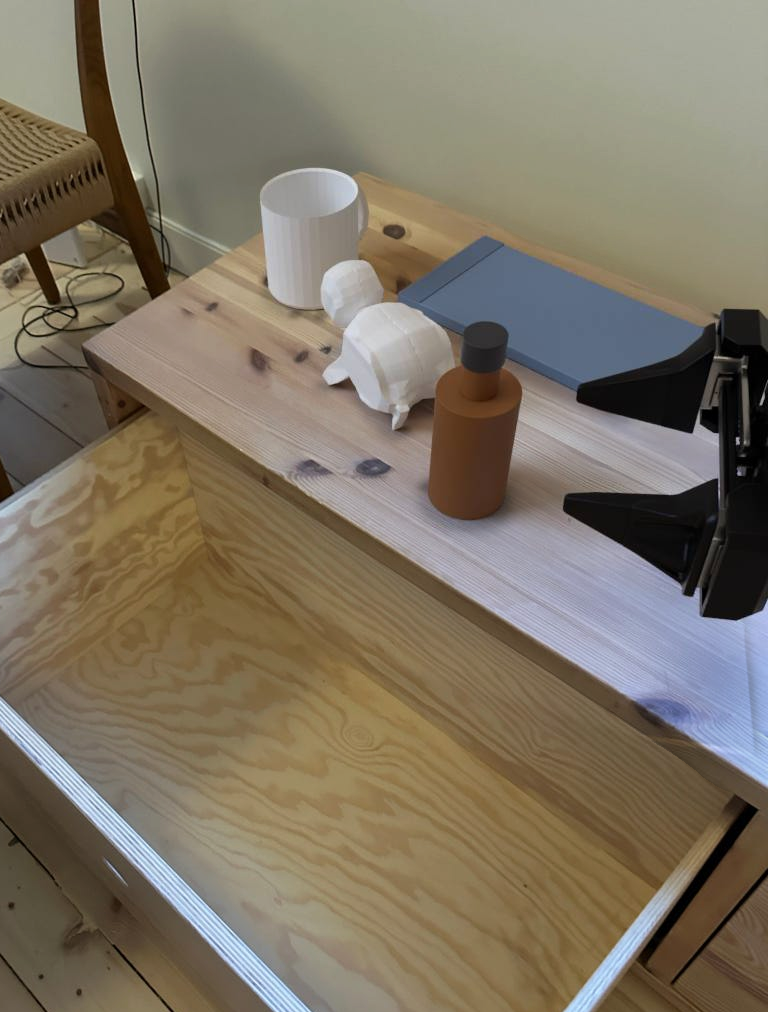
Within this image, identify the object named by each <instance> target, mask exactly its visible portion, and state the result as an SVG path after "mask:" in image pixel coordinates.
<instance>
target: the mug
mask: <svg viewBox="0 0 768 1012" xmlns="http://www.w3.org/2000/svg"><path fill="white" fill-rule="evenodd" d="M259 203H260V213H261V224H262V233H263V234H262V235H263V245H264V254H265V255H264V256H265V265H266V276H267V287H268V290H269V292H270V294H271V295H272V297H274V299H275V300H276V301H277V302H279V303H281V304H282V305H284V306H286V307H289V308H293V309H296V310H304V311H315V310H324V308H323V305H322V302H321V285H322V281H323V277H324V274H325V273H326V272H327V271H328V270H329V269H330V268H332V267H333V266H335V265H336V264H338V263H340V262H344V261H348V260H360V259H359V258H360V257H359V253H360V251H359V248H360V247H359V244H360V242H361V241H362V240H363V237H364V236H365V233H366V232H367V230H368V227H369V218H370V209H369V203H368V199H367V196H366V194H365V192H364V189H362V187H361V185H360V184H359V183H358V182H357V181H356V180H355V179H353V178H352V177H351V176H350V175H348V174H346V173H344V172H341V171H339V170H336V169H331V168H323V167H306V168H297V169H293V170H289V171H286V172H282V173H280V174H278V175H276V176H274V177H273V178H271V179H270V180H268V181H267V182H266V183H265V184H264V185H263V186H262V188H261V189H260V192H259Z"/></svg>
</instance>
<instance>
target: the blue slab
mask: <svg viewBox="0 0 768 1012" xmlns="http://www.w3.org/2000/svg"><path fill="white" fill-rule="evenodd" d="M397 303H403V304H405V305H407V306H409V307H411V308H414V309H417V310H419V311H421V312H423V314H424V315H425V316H426V317H428V318H429V319H431V320H432V321H434V322H435V323H437V324H438V325H439V326H441V327H445V328H447V329H448V330H451V331H452V332H455V333H457V334H458V335H461V336H463V331H464V330H465V328H466V327H467V326H469V325H470V324H473V323H476V322H481V321H489V322H495V323H498V324H500V325H502V326H503V327H505V328H506V330H507V331H508V334H509V337H508V344H507V351H506V358H508V359H510V360H512V361H514V362H516V363H518V364H520V365H522V366H524V367H526V368H528V369H530V370H532V371H534V372H537V373H538V374H540V375H543V376H545V377H547V378H549V379H551V380H553V381H555V382H557V383H558V384H561V385H563V386H565V387H567V388H569V389H571V390H573V391H576V392H577V388H578V386H579V385H580V384H581V383H585V382H588V381H592V380H596V379H600V378H603V377H607V376H611V375H615V374H618V373H622V372H626V371H630V370H633V369H637V368H641V367H644V366H648V365H651V364H654V363H658V362H661V361H663V360H666V359H669V358H672V357H675V356H677V355H679V354H680V353H682V352H683V351H684V350H685V349H687V348H688V347H689V346H690V345H691V344H693V343H694V342H695V341H696V340H697V339H698V338H700V337H701V336H702V333H703V330H704V327H702V326H700V325H698V324H695V323H693V322H691V321H688V320H687V319H684V318H681V317H678V316H676V315H673V314H671V313H669V312H667V311H665V310H662V309H659V308H657V307H655V306H652V305H650V304H647V303H645V302H642V301H640V300H637V299H635V298H633V297H631V296H628V295H626V294H623V293H621V292H618V291H616V290H615V289H614V290H613V289H612V288H609V287H607V286H604V285H602V284H600V283H597V282H595V281H593V280H591V279H587V278H586V277H582V276H581V275H578V274H575V273H573V272H572V271H568V270H566V269H563V268H561V267H559V266H556V265H554V264H551V263H549V262H547V261H545V260H542V259H539V258H537V257H535V256H532V255H530V254H527V253H525V252H523V251H521V250H518V249H515V248H513V247H511V246H508V245H506V244H505V243H504V242H503V241H500V240H498V239H495V238H493V237H490V236H488V235H486V234H485V235H482V236H480V237H479V238H477V239H476V240H475V241H473V242H471V243H470V244H469V245H466V247H464V248H463V249H461V250H460V251H458V252H457V253H455V254H454V255H452V256H451V257H449V258H448V259H446V260H445V261H443V262H442V263H440V264H439V265H437V266H436V267H434V268H433V269H431V270H430V271H428V272H427V273H426V274H424V275H423V276H421V277H419V278H418V279H417V280H416V281H414V282H413V283H411V284H409V285H408V286H406V287H405V288H403V289H402V290H401V291H399V292H397Z"/></svg>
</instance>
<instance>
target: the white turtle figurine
mask: <svg viewBox="0 0 768 1012" xmlns="http://www.w3.org/2000/svg"><path fill="white" fill-rule="evenodd" d="M384 293H385V289H384V287H383V285H382V283H381V282H380V280H379V276H378V275H377V272H376V271H375V269H374V267H373V265H371V263H370V262H368V261H366V260H364V259H359V260H348V261H344V262H340V263H338V264H336V265H335V266H333V267H332V268H330V269H329V270H328V271H327V272H326V273H325V274H324V277H323V281H322V285H321V302H322V305H323V310H324V311H325V313H326V314H327V315H328V316H329V317H330V318H331V321H332V323H333V325H334V326H335V327H336V328H337V329H345V330H344V331H343V334H342V335H343V336H342V338H343V339H342V346H341V354H340V355H339V356H338V358H336V359H335V360H334V361H333V362H332V363H330V364H329V365H328V366H327V367H326V369H324V371H323V373H322V374H321V375H322V378H323V379H324V381H325V382H326V384H327V385H328V386H331V385H335V384H339V383H341V382H343V381H346V380H348V379H350V380H351V382H352V384H353V386H354V387H355V389H356V392H357V393H358V395H359V399H360V400H361V402H363V403H364V404H365V405H366V406H368V407H369V408H371V409H373V410H374V411H378V412H381V413H386V414H391V415H392V420H391V421H392V422H391V429H392V430H393V431H396V430H399V429H400V428H402V427H403V425H404V422H405V421H406V420H407V419H408V417H409V412H410V409H411V408H412V407H413V405H416V404H418V403H419V402H421V401H422V400H424V399H425V400H427V399H435V393H436V385H437V383H438V381H439V379H440V378H441V376H443V375H444V374H445V373H446V372H447V371H449V370H451V369H453V368H455V367H456V362H455V357H454V351H453V348H452V343H451V340H450V337H449V336H448V333H447V331H446V330H445V329H444V328H443V326H442V325H440V324H438V323H436V322H434V321H432V320H431V319H429V318H428V317H426V316H425V315H424V314H423V312H421V311H419V310H417V309H414V308H411V307H409V306H407V305H405V304H403V303H398V302H391V301H390V302H389V301H387V302H382V301H383V298H384Z"/></svg>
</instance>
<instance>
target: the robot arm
mask: <svg viewBox="0 0 768 1012" xmlns="http://www.w3.org/2000/svg"><path fill="white" fill-rule="evenodd" d="M703 328H704V330H703V333H702V336H701V337H700V338H698V339H697V340H696V341H695V342H694V343H693V344H691V345H690V346H689V347H688V348H687V349H685V350H684V351H683V352H682V353H680V354H679V355H677V356H675V357H672V358H669V359H666V360H663V361H661V362H658V363H654V364H651V365H648V366H644V367H641V368H637V369H633V370H630V371H626V372H622V373H618V374H615V375H611V376H607V377H603V378H600V379H596V380H592V381H588V382H585V383H581V384H580V385H579V386H578V388H577V391H576V395H575V401H576V402H577V403H578V404H581V405H583V406H586V407H589V408H592V409H595V410H597V411H601V412H605V413H609V414H612V415H616V416H619V417H624V418H628V419H632V420H635V421H639V422H644V423H647V424H651V425H655V426H659V427H663V428H667V429H670V430H674V431H678V432H682V433H685V434H690V435H693V434H694V431H695V427H696V423H697V420H698V416H699V425H700V426H702V427H703V428H705V429H706V430H708V431H709V432H711V433H712V434H718V466H719V467H718V470H719V471H718V475H719V476H718V477H719V478H718V477H716V478H711V479H710V480H707V481H705V482H702V483H700V484H698V485H696V486H694V487H691V488H689V489H686V490H684V491H682V492H680V493H675V494H674V493H673V494H665V493H664V494H663V493H637V492H636V493H634V492H613V491H612V492H610V491H609V492H608V491H585V492H568V493H566V494H565V495H564V496H563V503H562V512H563V513H564V514H566V515H567V516H570V517H571V518H572V519H575V520H576V521H578V522H580V523H581V524H583V525H585V526H587V527H589V528H590V529H592V530H594V531H596V532H597V533H599V534H600V535H603V536H604V537H606V538H608V539H610V540H611V541H613V542H615V543H616V544H619V545H621V546H622V547H623V548H624V549H627V550H629V551H631V552H632V553H634V554H635V555H636V556H638V557H640V558H642V559H643V560H645V561H646V562H647V563H648V564H650V565H652V566H653V567H654V568H656V569H658V570H659V572H661V573H663V574H665V576H667V577H669V578H671V579H672V580H673V581H675V582H676V583H678V584H679V585H680V586H681V594H682V596H683V597H688V598H694V596H695V593H696V590H697V589H699V590H698V593H699V594H698V595H699V602H698V603H699V605H698V606H699V609H698V610H699V612H698V613H699V616H700V617H701V618H705V619H706V618H707V619H715V620H726V621H734V622H737V621H739V620H742V619H745V618H748V617H751V616H754V615H757V614H758V613H761V612H763V611H764V609H765V606H766V604H767V602H768V317H766V316H765V314H764V313H763V312H762V311H761V310H760V309H758V308H757V309H754V308H723V309H722V310H721V311H720V313H719V318H718V322H717V323H716V322H711V323H709V324H707V325H705V326H704V327H703ZM763 397H764V398H763ZM762 399H763V401H762ZM761 401H762V404H761ZM737 438H738V442H739V443H737ZM738 468H740V475H739V469H738Z"/></svg>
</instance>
